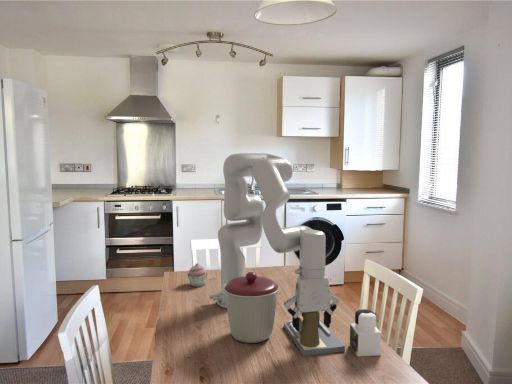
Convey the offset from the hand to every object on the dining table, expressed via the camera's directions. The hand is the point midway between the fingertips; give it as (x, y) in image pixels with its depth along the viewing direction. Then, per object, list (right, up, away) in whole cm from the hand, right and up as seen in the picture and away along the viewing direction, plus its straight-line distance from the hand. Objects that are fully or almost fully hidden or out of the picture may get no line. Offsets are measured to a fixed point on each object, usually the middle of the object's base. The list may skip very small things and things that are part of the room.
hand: (311, 327), depth 122 cm
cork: (-1, -5, +1) cm, 5 cm away
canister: (-18, -6, +9) cm, 21 cm away
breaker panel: (+1, -6, +7) cm, 9 cm away
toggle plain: (+2, -3, +13) cm, 14 cm away
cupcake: (-43, -1, +58) cm, 72 cm away
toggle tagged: (-1, -4, +6) cm, 8 cm away
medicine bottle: (+16, -7, -1) cm, 17 cm away
